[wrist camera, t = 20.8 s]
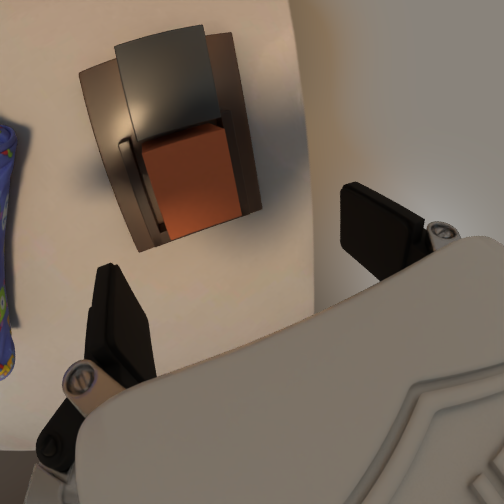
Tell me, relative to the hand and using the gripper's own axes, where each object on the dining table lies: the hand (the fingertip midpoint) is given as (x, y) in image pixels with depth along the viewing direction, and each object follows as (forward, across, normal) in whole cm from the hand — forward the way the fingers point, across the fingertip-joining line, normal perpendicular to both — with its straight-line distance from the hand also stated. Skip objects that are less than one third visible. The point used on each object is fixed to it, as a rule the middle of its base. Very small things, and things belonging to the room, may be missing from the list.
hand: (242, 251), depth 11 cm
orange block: (+12, 0, 0) cm, 12 cm away
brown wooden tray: (+13, 0, -3) cm, 13 cm away
